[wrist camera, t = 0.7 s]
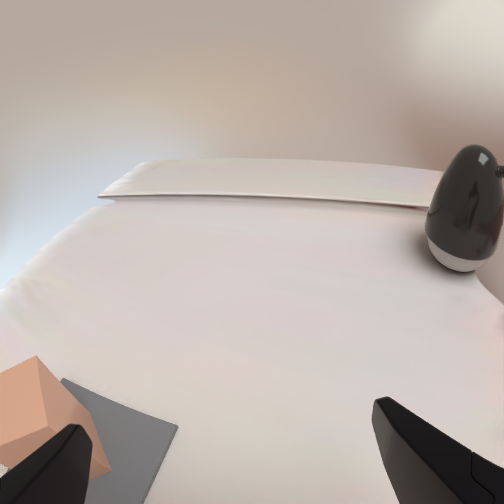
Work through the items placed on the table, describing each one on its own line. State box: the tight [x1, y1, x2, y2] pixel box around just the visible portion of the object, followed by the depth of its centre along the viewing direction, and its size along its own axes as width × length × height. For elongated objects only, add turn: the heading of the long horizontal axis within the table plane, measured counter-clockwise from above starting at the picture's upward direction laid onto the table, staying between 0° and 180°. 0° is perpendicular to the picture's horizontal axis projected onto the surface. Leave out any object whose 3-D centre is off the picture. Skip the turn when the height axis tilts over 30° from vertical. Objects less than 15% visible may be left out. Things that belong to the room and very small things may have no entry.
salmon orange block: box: [0, 356, 112, 480], centre depth 18 cm, size 6×6×9 cm
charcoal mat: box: [6, 378, 178, 504], centre depth 20 cm, size 14×14×1 cm
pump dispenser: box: [425, 144, 504, 272], centre depth 31 cm, size 10×10×15 cm
